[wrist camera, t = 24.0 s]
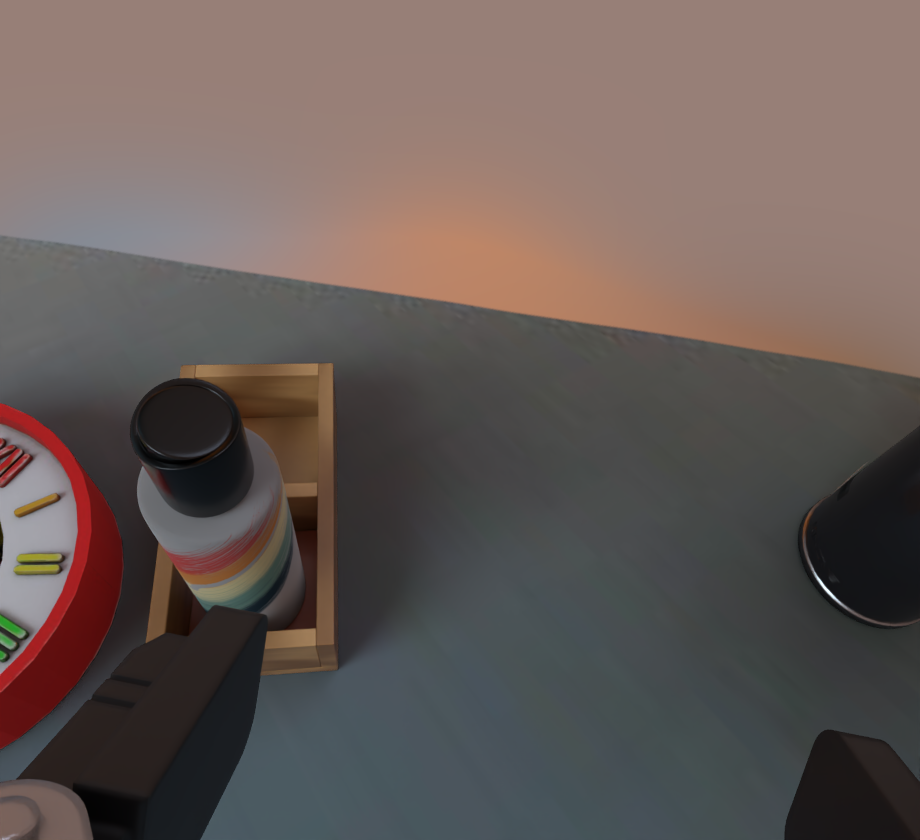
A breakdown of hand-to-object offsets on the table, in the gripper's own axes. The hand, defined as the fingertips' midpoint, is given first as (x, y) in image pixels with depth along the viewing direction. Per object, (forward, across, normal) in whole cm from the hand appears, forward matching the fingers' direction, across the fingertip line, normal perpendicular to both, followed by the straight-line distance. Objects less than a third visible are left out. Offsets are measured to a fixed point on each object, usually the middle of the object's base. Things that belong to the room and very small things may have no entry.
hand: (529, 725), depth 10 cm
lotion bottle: (+29, +11, +15) cm, 35 cm away
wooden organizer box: (+33, +12, +13) cm, 38 cm away
